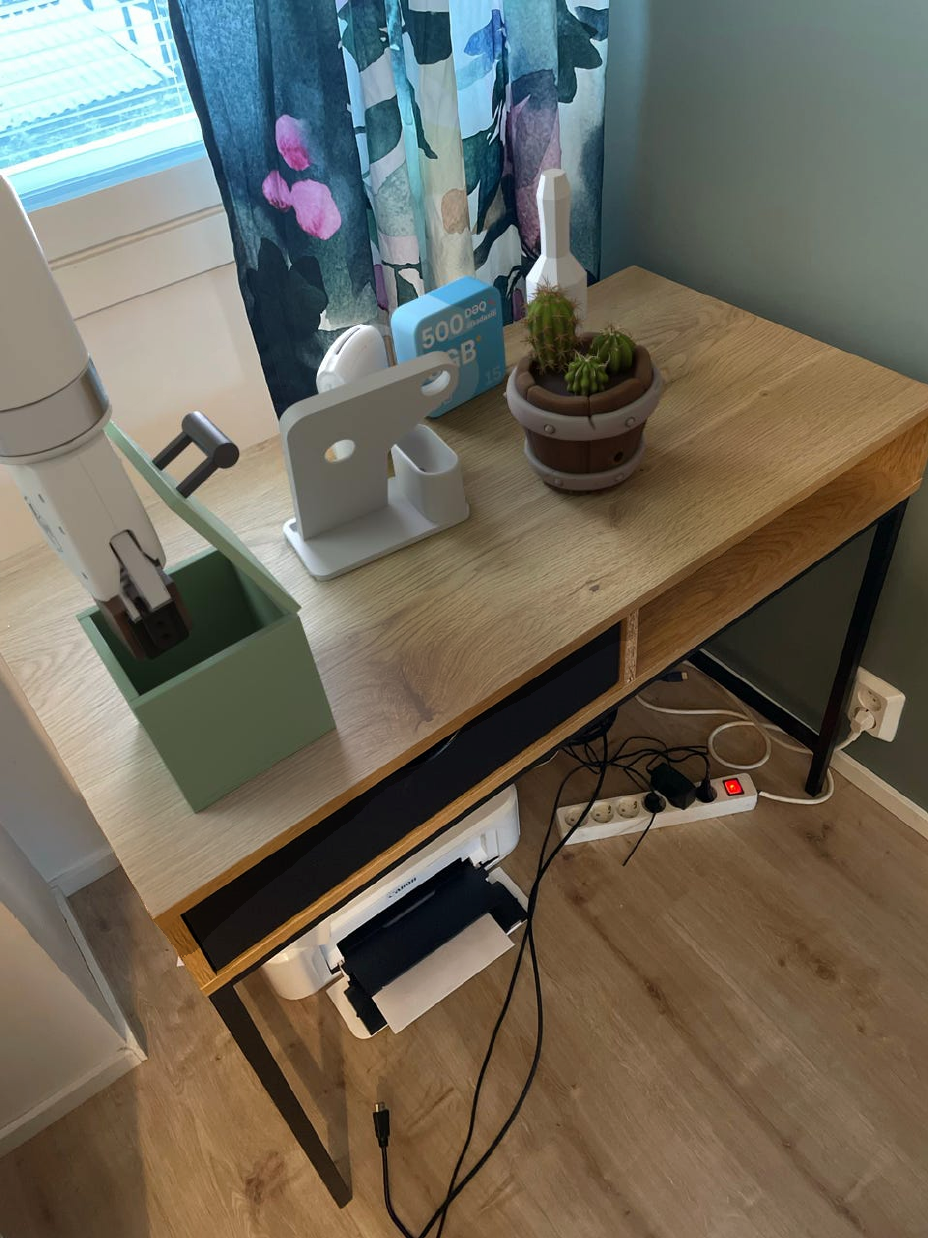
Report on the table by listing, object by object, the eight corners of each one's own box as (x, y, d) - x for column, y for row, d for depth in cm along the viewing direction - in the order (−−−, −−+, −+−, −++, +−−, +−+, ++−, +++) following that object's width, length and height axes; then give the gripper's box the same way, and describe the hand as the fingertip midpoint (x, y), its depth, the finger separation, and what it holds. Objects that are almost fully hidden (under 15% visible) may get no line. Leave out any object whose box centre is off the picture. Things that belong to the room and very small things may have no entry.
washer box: (195, 814, 68) (132, 709, 59) (138, 721, 75) (74, 614, 66) (337, 726, 72) (299, 616, 63) (270, 647, 79) (228, 537, 70)
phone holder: (431, 466, 95) (406, 307, 82) (478, 515, 89) (459, 351, 76) (280, 529, 91) (229, 370, 78) (318, 586, 84) (269, 423, 71)
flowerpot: (683, 447, 93) (699, 259, 79) (607, 531, 85) (610, 338, 71) (564, 411, 100) (560, 231, 86) (484, 485, 92) (464, 300, 78)
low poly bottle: (557, 347, 110) (551, 156, 94) (597, 363, 106) (597, 168, 90) (521, 369, 107) (509, 176, 91) (560, 387, 103) (554, 189, 88)
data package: (427, 423, 101) (412, 324, 93) (404, 408, 104) (387, 310, 95) (508, 379, 106) (500, 282, 97) (483, 366, 108) (474, 270, 100)
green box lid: (169, 507, 52) (236, 443, 52) (100, 426, 59) (159, 370, 59) (294, 615, 63) (349, 561, 63) (223, 536, 70) (273, 488, 70)
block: (138, 662, 61) (112, 616, 58) (110, 629, 64) (84, 583, 60) (196, 627, 63) (174, 581, 60) (166, 596, 65) (144, 550, 62)
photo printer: (366, 469, 96) (343, 366, 87) (330, 464, 98) (304, 362, 89) (403, 416, 103) (385, 315, 94) (369, 412, 104) (348, 312, 95)
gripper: (-78, 380, 53) (55, 597, 66) (27, 498, 44) (158, 726, 57) (41, 330, 56) (145, 547, 69) (164, 430, 47) (258, 661, 60)
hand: (150, 625), depth 63 cm, fingers closed on block, 4 cm apart
